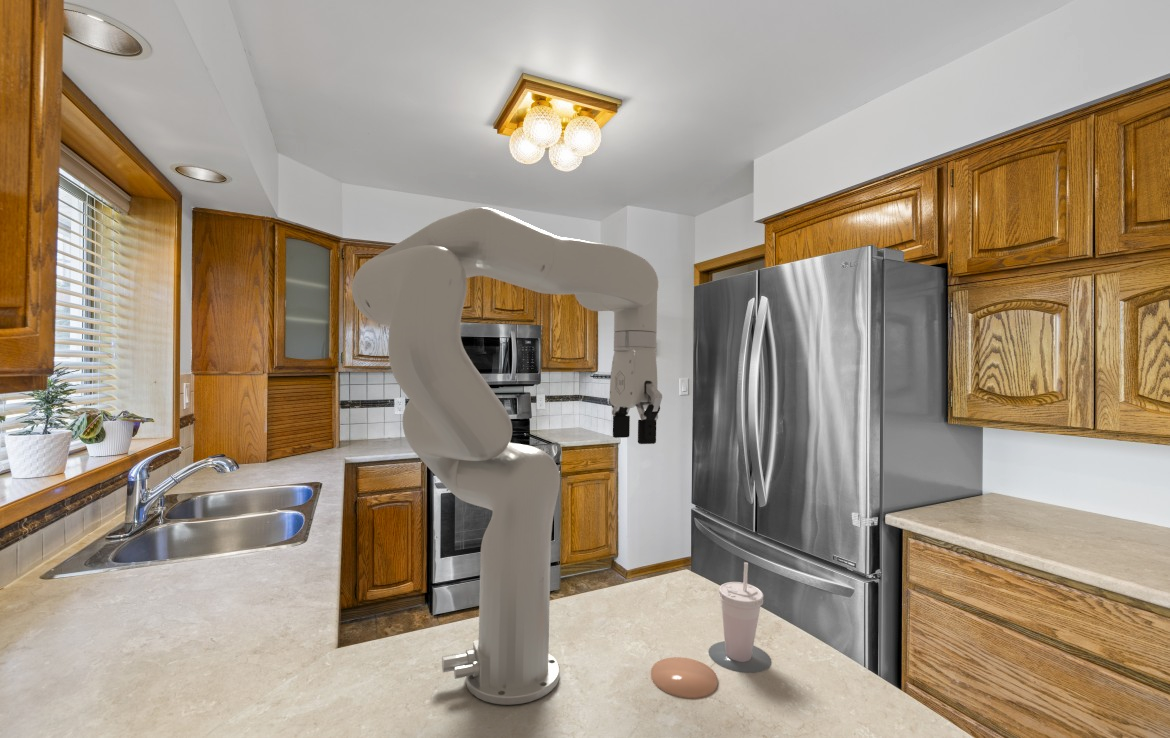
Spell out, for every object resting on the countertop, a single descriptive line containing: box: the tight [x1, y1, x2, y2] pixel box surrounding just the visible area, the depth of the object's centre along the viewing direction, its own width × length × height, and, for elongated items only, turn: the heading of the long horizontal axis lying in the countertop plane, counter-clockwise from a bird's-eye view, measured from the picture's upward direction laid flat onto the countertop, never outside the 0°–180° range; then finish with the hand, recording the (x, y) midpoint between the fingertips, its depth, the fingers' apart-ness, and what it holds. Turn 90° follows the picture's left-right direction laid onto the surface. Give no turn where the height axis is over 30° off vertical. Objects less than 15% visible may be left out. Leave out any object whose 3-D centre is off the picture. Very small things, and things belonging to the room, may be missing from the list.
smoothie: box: [718, 561, 764, 662], centre depth 78 cm, size 6×6×14 cm
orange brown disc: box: [650, 656, 719, 699], centre depth 72 cm, size 9×9×1 cm
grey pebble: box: [708, 640, 772, 674], centre depth 78 cm, size 9×9×1 cm
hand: (633, 440), depth 92 cm, fingers open, 9 cm apart
